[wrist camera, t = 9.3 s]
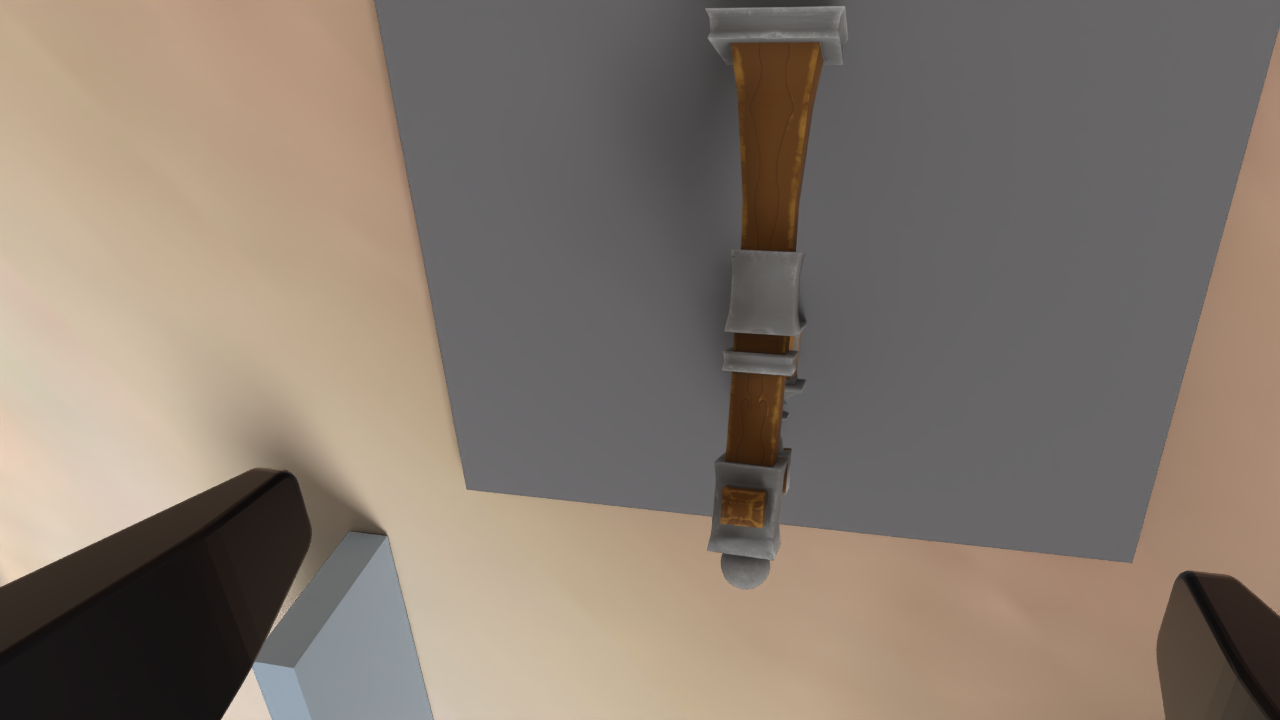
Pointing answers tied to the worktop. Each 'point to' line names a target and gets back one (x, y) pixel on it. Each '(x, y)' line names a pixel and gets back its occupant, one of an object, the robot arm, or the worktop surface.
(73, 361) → the worktop surface
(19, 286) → the worktop surface
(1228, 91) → the mat
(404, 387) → the worktop surface
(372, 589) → the open box
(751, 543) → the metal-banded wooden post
